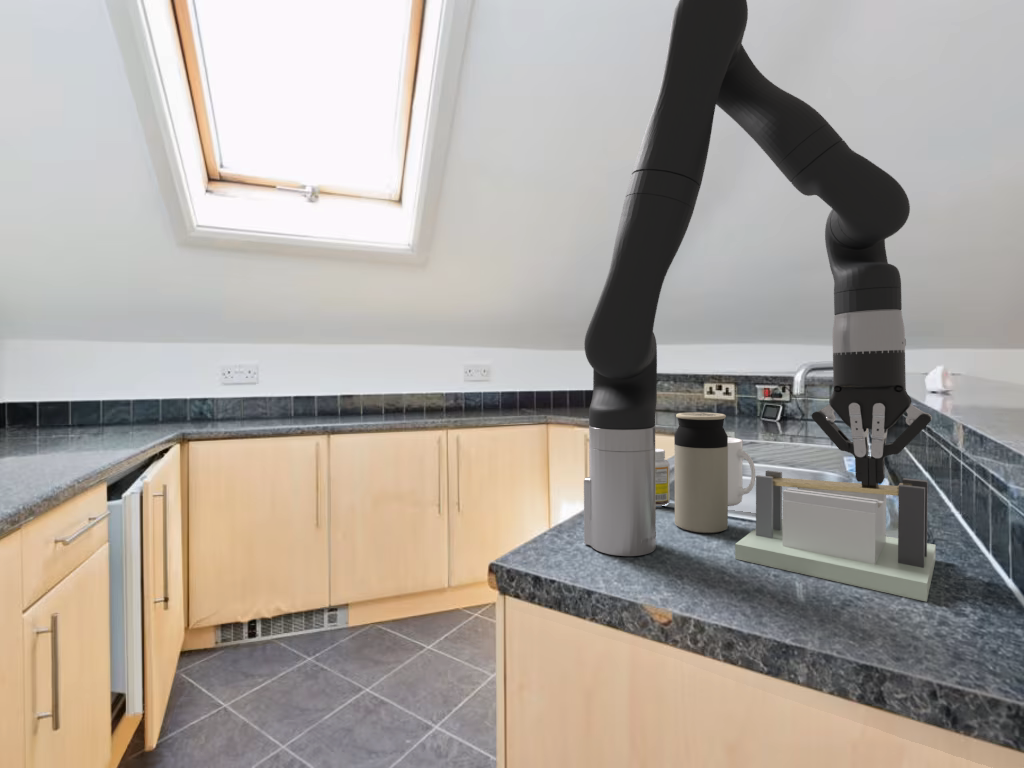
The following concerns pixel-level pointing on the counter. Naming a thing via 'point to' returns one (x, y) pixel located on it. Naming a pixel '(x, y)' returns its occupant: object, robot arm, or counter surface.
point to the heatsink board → (843, 567)
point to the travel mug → (701, 472)
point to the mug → (737, 471)
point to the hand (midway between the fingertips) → (870, 486)
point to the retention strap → (837, 486)
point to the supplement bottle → (662, 478)
